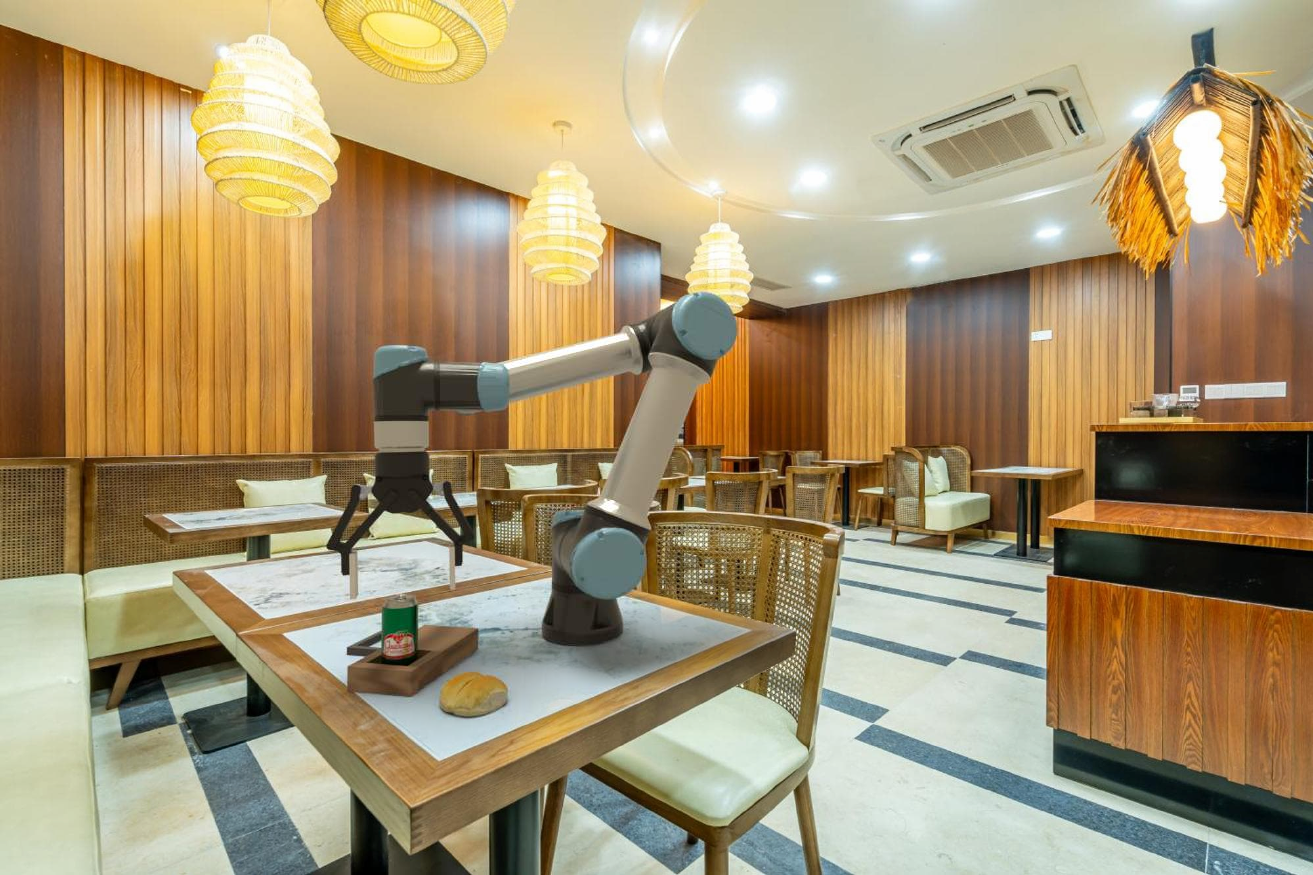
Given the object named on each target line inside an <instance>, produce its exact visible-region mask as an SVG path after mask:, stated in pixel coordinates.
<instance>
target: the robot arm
mask: <svg viewBox="0 0 1313 875" xmlns="http://www.w3.org/2000/svg"><path fill="white" fill-rule="evenodd" d="M737 337H738V323H737V318H736V317H735V314H734V312H733V310H732V307H731V306H730V305H729V304H728V303H727V301H725V300H724V299H723V298H722V297H720V296H718V295H716V294H715V293H712V292H708V291H697V292H696V291H695V292H692V293H688V294H685V295H683V296H682V297H680V298H679V299H677V300H676V301H675V302H674V303H672V304H670V305H669V306H667V307H664V308H662V309H661V310H660V311H658V312H656V313H655V314H653V315H650V316H649V317H648V318H645V319H643V320H641V321H638V322H635V323H632V324H628V325H624V326H623V327H622V328H621V330H620V332H618V333H614V334H610V335H605V336H601V337H598V338H594V339H593V338H592V339H589V340H585V341H581V342H577V343H574V344H569V345H568V344H567V345H565V346H561V347H558V348H553V349H548V350H544V351H541V352H540V351H539V352H537V353H533V354H528V355H525V356H520V357H516V358H513V359H512V358H511V359H508V360H504V361H500V362H496V363H495V362H488V361H483V362H472V361H471V362H469V361H468V362H467V361H466V362H465V361H464V362H463V361H462V362H461V361H459V362H457V361H455V362H454V361H453V362H452V361H434V360H430V358H429V356H428V352H427V349H425V348H424V347H421V346H414V345H413V346H412V345H405V344H403V345H402V344H397V345H396V344H393V345H392V344H391V345H390V344H389V345H383V346H381V347H379V348H377V349H376V350H375V352H374V356H373V359H374V360H373V376H372V383H373V386H372V387H373V408H374V409H373V414H374V415H373V416H374V418H373V419H374V420H373V421H374V422H373V427H374V430H373V433H374V434H373V435H374V448H376V449H378V452H376V453H375V454H374V483H373V485H362V483H356V484H354V485H352V486H351V489H350V496H349V501H348V503H347V506H346V507H345V508H344V510H343V512H342V514H341V516H340V519H339V520H338V522H337V524H336V526H335V527H334V530H333V532H332V533H331V536H330V537H329V539H328V542H327V543H326V549H327V550H328V551H334V552H338V553H339V554H340V569H341V570H340V573H341V575H342V576H344V577H346V576H349V600H356V599H357V597H358V595H359V570H358V569H359V565H358V560H359V559H358V553H359V552H358V550H352V549H353V548H354V546H356V544H357V543H358V542H359V541H360V540H361V538H362V537H363V536H365V534H366V533H367V532H368V531H369V529H370V528H371V527H372V526H373V525H374V523H375V522H377V520H378V519H379V518H380V517H381V516H382V515H383V513H384V512H387V513H389V514H392V515H393V514H395V515H396V514H400V513H407V514H408V513H409V514H413V513H415V512H417V511H419V510H421V511H422V512H423V514H424V515H426V516H427V517H428V518H429V519H430V520H431V521H432V522H433V523H434V524H435V525H436V526H437V528H438V529H440V530H441V532H443V533H444V535H445V536H446V537H447V538H448V539H449V540H450V541H451V542H452V543H449V544H448V547H449V548H448V551H449V552H448V557H449V560H448V562H449V565H448V566H449V590H450V591H453V590H454V591H455V590H456V567H461V566H462V565H463V563H464V561H463V558H464V555H463V551H464V550H463V547H464V545H465V544H466V543H468V542H470V541H473V540H474V539H475V533H474V531H473V529H472V527H471V526H470V524H469V522H468V520H467V518H466V517H465V514H464V513H463V511H462V510H461V508H460V505H459V504H458V503H457V500H456V498H455V496H454V495H453V489H452V488H453V487H452V483H451V481H450V480H448V479H447V480H444V481H443V482H442V481H441V482H436V483H432V482H431V478H430V453H429V452H428V451H427V450H426V448H429V446H430V430H429V429H430V427H429V426H430V423H429V422H430V421H429V420H430V419H429V412H430V411H437V412H440V411H446V412H447V411H448V412H449V411H451V412H455V413H456V414H458V415H461V416H472V415H476V414H478V413H480V412H483V411H484V412H486V413H487V412H489V413H490V412H495V411H497V412H498V411H504V410H506V409H507V408H508V407H509V404H512V403H516V402H520V401H523V400H528V399H530V398H535V397H539V396H543V395H547V394H549V393H554V392H557V391H561V390H565V389H568V388H573V387H576V386H580V385H583V384H588V383H591V382H595V381H599V380H602V379H606V378H609V377H613V376H617V375H621V374H625V373H629V372H631V373H632V374H634V375H635V376H637V375H638V376H639V375H642V374H645V373H649V375H648V379H647V381H646V383H645V385H644V388H643V390H642V393H641V395H640V398H639V401H638V402H637V405H636V407H635V410H634V412H633V415H632V417H631V419H630V422H629V425H628V427H627V429H626V432H625V434H624V436H623V439H622V441H621V444H620V446H619V449H618V451H617V454H616V456H615V459H614V461H613V463H612V466H611V468H610V471H609V473H608V476H607V478H606V480H605V483H604V485H603V488H602V491H601V492H600V494H599V496H598V497H597V498H595V499H593V500H590V501H588V502H587V503H586V506H585V508H584V509H574V510H573V509H572V510H558V511H556V512H555V513H554V514H553V516H552V523H551V524H552V525H551V527H550V529H551V593H550V597H549V599H548V602H547V606H546V609H545V611H544V615H543V617H542V620H541V636H542V638H544V639H545V640H547V641H548V642H552V643H555V644H560V645H568V646H591V645H598V644H604V643H608V642H611V641H613V640H616V639H618V638H620V637H621V636H622V635H623V633H624V619H623V616H622V612H621V609H620V605H619V602H618V599H619V598H621V597H623V596H625V595H628V594H629V593H630V592H632V591H633V590H635V588H637V586H638V585H639V584H640V583H641V581H642V579H643V577H644V575H645V573H646V569H647V553H646V549H645V546H646V544H647V541H648V538H649V536H650V533H651V531H652V526H651V523H650V521H649V519H648V514H649V511H650V509H651V506H652V504H653V501H654V499H655V496H656V493H657V491H658V490H659V489H658V488H659V486H660V484H661V481H662V478H663V476H664V473H665V471H666V469H667V466H668V464H669V461H670V458H671V455H672V453H673V451H674V449H675V447H676V444H677V441H678V438H679V436H680V433H681V431H682V428H683V426H684V423H685V421H686V419H687V416H688V413H689V411H690V408H691V405H692V403H693V402H694V398H695V396H696V393H697V391H698V388H699V387H701V386H704V385H706V384H708V383H709V382H710V381H711V378H712V377H713V375H714V374H713V373H714V372H715V369H716V366H717V364H718V361H719V359H720V358H721V359H722V358H723V357H724V356H726V355H727V354H728V353H729V352H730V351H731V350H732V349H733V347H734V345H735V342H736V341H737ZM434 491H435V492H437V493H438V495H439V496H440V497H444V500H445V501H446V503H447V506H448V508H449V510H450V511H451V512H452V514H453V516H454V518H455V520H456V521H457V524H458V525H459V527H460V529H461V531H462V533H461V534H459V533H458V531H456V530H455V529H454V527H452V525H451V524H449V523H448V521H447V520H446V519H445V518H443V516H442V515H441V514H440V513H439V512H438V511H437V510H436V509H435V508H434V507H433V506H432V504H430V502H429V501H428V499H429V497H430V496H431V494H432V493H433V492H434ZM369 494H371V495H372V496H373V497H374V498H375V499H376V501H377V502H378V505H377V506H376V507H375V508H374V509H373V510H372V511H371V512H370V514H369V515H368V516H367V517H366V519H365V520H363V522H362V523H361V524H360V525H359V526H358V528H357V529H356V530H355V531H354V532H353V533H352V534H351V536H350V537H349V538H348V539H347V541H345V542H344V541H341V540H342V538H343V536H344V534H345V532H346V530H347V529H348V527H349V525H350V523H351V521H352V518H353V516H354V515H355V513H356V511H357V509H358V507H359V506H360V503H361V501H364V500H366V499H367V497H368V495H369Z"/></svg>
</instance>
